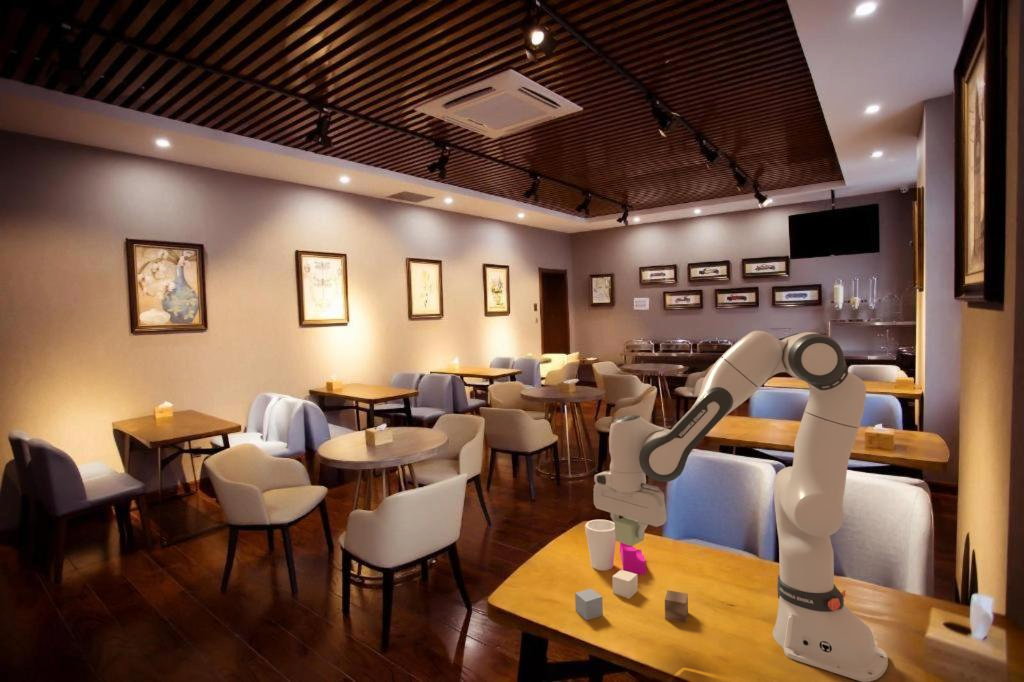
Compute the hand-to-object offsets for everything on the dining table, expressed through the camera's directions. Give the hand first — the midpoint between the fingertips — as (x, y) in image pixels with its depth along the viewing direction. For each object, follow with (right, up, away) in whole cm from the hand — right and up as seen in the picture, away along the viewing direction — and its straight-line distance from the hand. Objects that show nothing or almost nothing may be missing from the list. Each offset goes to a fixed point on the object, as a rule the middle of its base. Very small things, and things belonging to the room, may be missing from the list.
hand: (629, 533), depth 137 cm
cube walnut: (+12, -21, 0) cm, 24 cm away
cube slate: (-10, -21, +2) cm, 24 cm away
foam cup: (-2, -20, +28) cm, 34 cm away
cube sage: (0, -2, 0) cm, 2 cm away
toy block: (+7, -20, +29) cm, 36 cm away
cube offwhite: (+1, -21, +12) cm, 24 cm away
